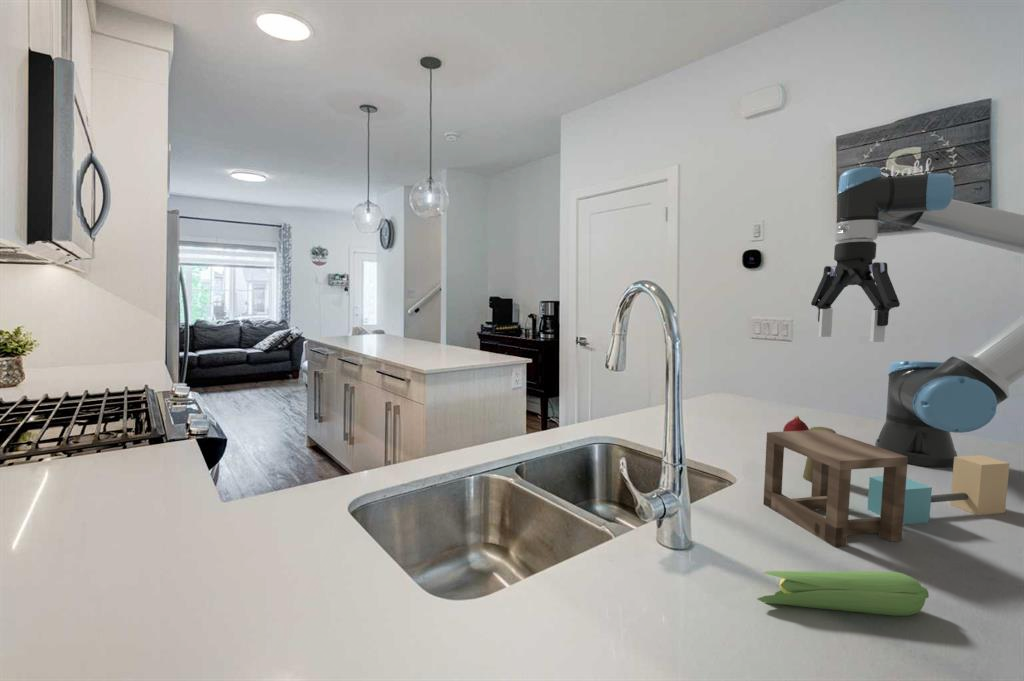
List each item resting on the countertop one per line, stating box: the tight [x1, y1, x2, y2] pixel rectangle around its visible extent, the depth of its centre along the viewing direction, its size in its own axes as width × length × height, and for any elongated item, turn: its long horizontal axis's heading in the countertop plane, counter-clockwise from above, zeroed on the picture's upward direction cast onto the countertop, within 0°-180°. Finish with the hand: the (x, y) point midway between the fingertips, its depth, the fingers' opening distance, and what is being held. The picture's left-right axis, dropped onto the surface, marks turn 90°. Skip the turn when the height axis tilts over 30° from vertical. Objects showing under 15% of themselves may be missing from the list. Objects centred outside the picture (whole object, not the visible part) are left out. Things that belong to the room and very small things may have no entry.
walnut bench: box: [763, 429, 909, 548], centre depth 83 cm, size 12×16×13 cm
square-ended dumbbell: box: [867, 454, 1010, 525], centre depth 87 cm, size 23×6×9 cm, turn 100°
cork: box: [802, 426, 837, 483], centre depth 102 cm, size 6×6×11 cm
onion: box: [782, 415, 810, 432], centre depth 125 cm, size 6×6×8 cm
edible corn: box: [757, 570, 930, 617], centre depth 60 cm, size 5×20×5 cm
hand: (849, 339), depth 109 cm, fingers open, 13 cm apart
